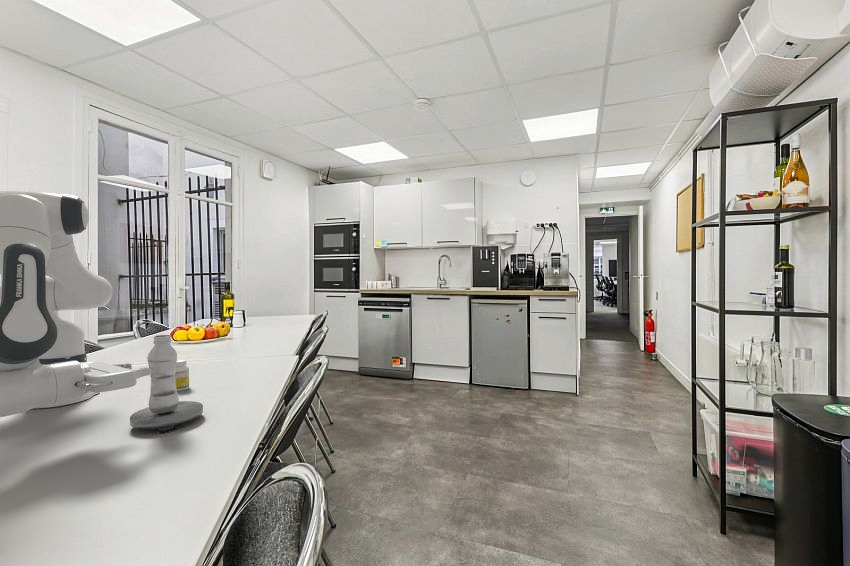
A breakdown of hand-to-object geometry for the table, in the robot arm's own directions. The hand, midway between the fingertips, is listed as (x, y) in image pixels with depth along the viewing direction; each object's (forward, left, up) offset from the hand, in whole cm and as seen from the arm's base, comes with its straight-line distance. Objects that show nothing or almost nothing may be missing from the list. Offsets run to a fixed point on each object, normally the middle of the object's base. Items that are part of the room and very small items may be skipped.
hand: (139, 368), depth 96 cm
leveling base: (0, +6, -16) cm, 17 cm away
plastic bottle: (0, +5, -13) cm, 14 cm away
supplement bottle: (-29, +24, -16) cm, 41 cm away
